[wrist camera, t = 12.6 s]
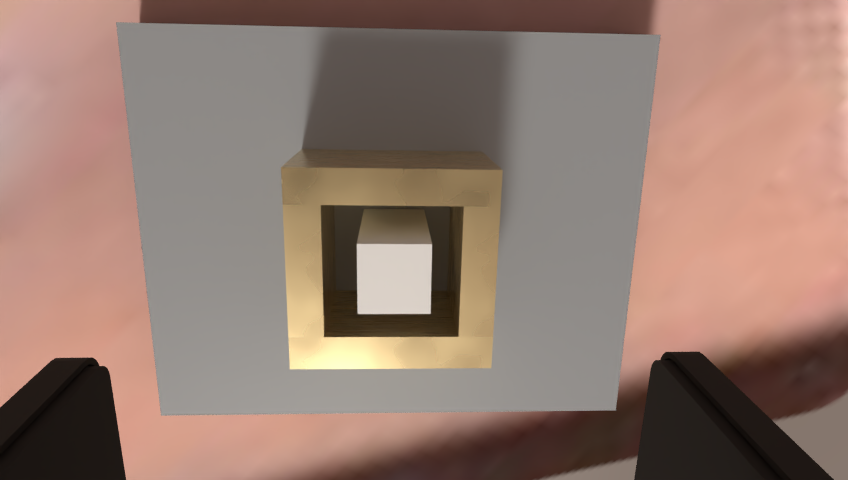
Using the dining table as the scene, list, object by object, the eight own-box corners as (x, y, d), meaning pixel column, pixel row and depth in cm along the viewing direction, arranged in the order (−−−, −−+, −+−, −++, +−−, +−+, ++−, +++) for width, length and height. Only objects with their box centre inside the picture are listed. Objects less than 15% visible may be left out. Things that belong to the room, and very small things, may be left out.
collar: (301, 149, 23) (280, 167, 19) (482, 151, 23) (502, 170, 19) (307, 317, 25) (289, 369, 21) (474, 317, 25) (491, 368, 21)
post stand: (138, 26, 23) (36, 8, 17) (639, 37, 24) (733, 25, 18) (177, 391, 28) (108, 494, 21) (600, 387, 29) (664, 484, 22)
